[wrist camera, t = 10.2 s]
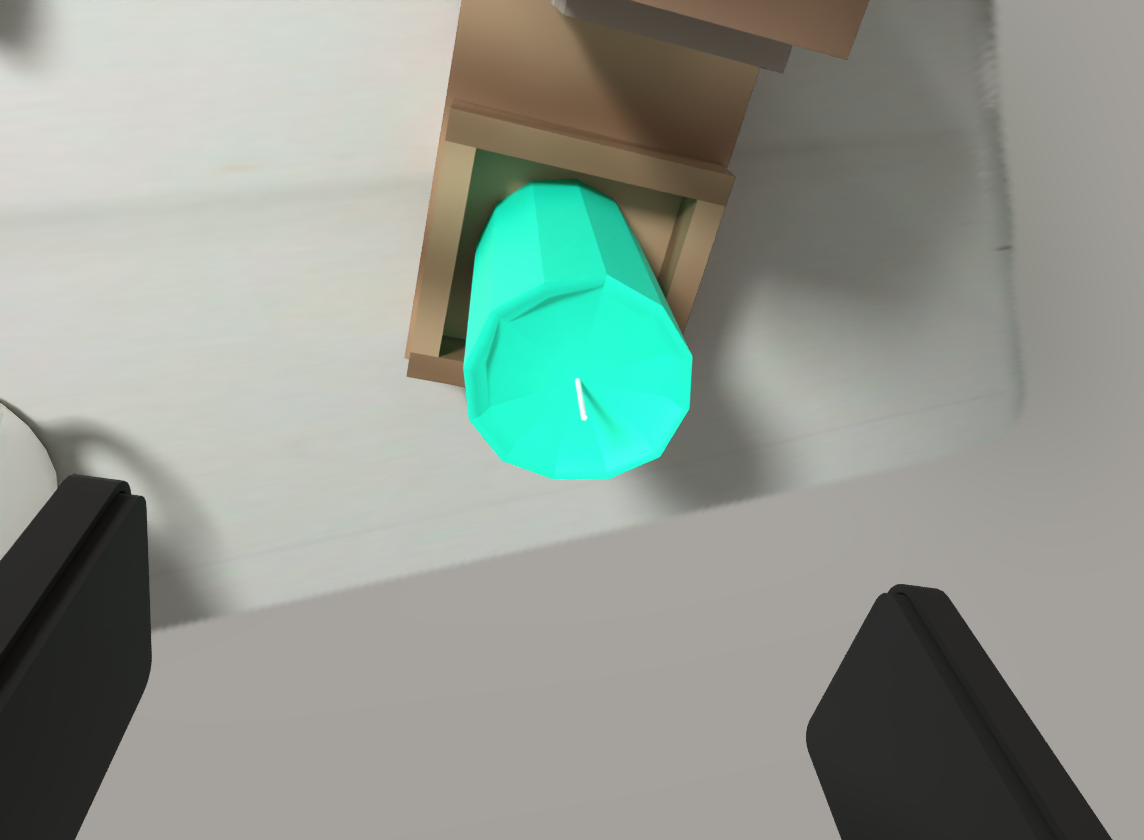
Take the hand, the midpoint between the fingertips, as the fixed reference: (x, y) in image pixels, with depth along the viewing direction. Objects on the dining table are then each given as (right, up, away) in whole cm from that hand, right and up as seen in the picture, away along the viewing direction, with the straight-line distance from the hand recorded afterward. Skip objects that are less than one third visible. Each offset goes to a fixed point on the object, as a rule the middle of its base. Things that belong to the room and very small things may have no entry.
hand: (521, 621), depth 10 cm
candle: (0, +9, +20) cm, 22 cm away
